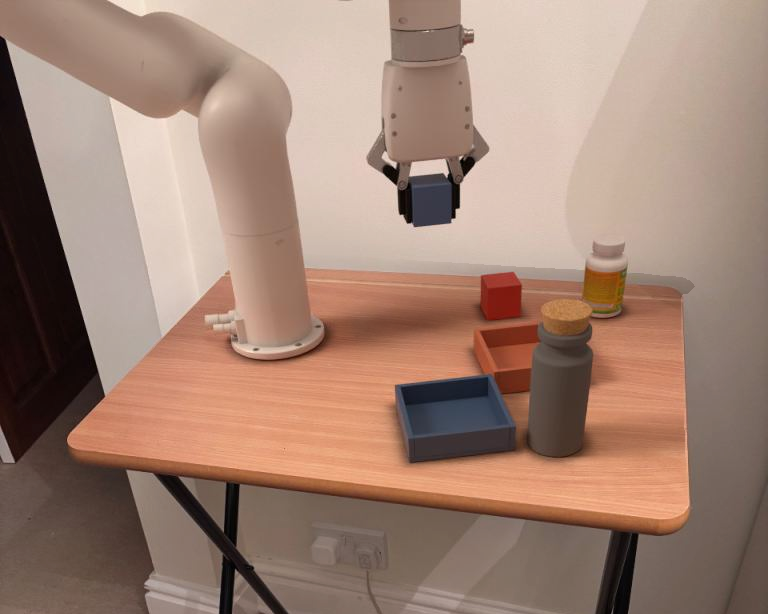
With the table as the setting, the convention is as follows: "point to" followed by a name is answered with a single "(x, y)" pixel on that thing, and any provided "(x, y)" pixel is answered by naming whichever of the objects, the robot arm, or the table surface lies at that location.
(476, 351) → the orange bin
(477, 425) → the blue bin
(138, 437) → the table surface
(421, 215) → the blue block
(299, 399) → the table surface
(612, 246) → the supplement bottle
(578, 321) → the bottle
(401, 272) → the table surface
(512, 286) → the red block
